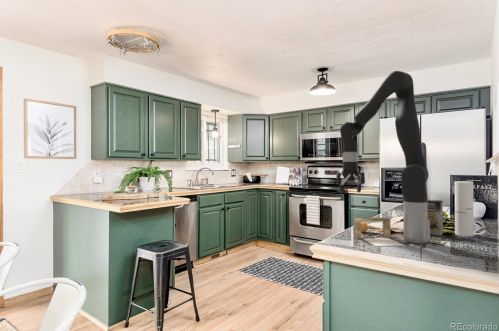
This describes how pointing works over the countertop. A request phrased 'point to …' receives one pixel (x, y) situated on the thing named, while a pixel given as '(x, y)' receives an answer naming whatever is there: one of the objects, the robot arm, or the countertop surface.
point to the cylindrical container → (464, 208)
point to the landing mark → (383, 242)
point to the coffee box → (435, 216)
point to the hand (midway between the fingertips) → (350, 192)
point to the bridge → (358, 221)
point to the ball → (364, 227)
